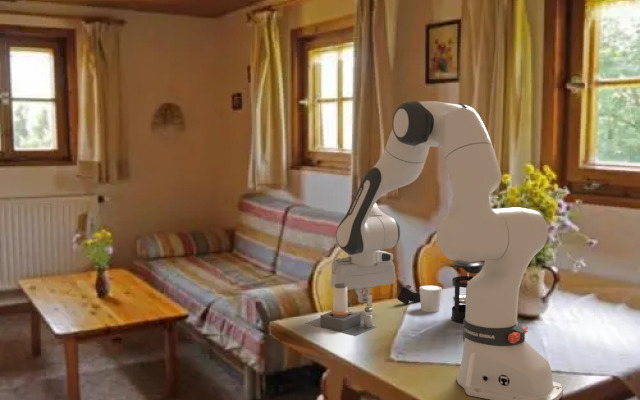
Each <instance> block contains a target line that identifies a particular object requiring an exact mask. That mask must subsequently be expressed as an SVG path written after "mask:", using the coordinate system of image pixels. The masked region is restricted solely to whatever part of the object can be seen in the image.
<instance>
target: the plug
mask: <svg viewBox="0 0 640 400" xmlns="http://www.w3.org/2000/svg"><path fill="white" fill-rule="evenodd" d="M348 291H349V290H348V287H347V286H346V284H343V283H338V284H335V286H333V288H332V295H333V296H332V298H333V300H332V301H333V302H332V306H333V309H331V311H332V315H333V316H334V317H338V318H344V317H347V316H348V315H349V312H350V309H348V308H349V307H348V306H349V305H348V303H349V301H348V296H349V295H348Z"/></svg>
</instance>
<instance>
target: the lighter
mask: <svg viewBox="0 0 640 400" xmlns="http://www.w3.org/2000/svg"><path fill="white" fill-rule="evenodd" d="M411 288H412V285H410V284H405V286H403V287H401V289H400V291H399V294H398V296H397V298H396V299H397V300H398V301H399V302H401V303H403V304H404V305H409V303H410V302H412V303H416V304H417V303H421V302H420V292H413V290H412V289H411Z"/></svg>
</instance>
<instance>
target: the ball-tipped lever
mask: <svg viewBox="0 0 640 400" xmlns="http://www.w3.org/2000/svg"><path fill="white" fill-rule="evenodd" d="M372 301H373V295H372V294H369V295H368V300H367V302H366V307H364V312H365V315H366V316H370V315H372V314H371V313H372V312H373V307H372V305H373V304H372V303H373V302H372Z"/></svg>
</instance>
